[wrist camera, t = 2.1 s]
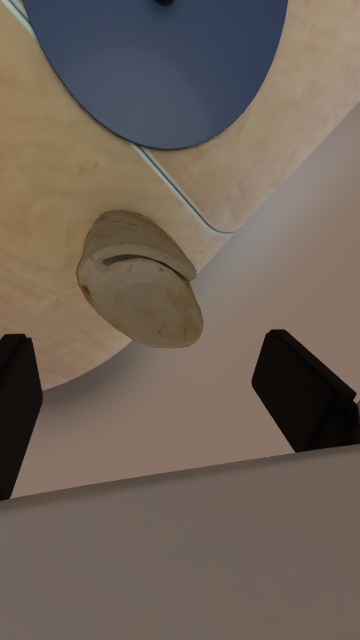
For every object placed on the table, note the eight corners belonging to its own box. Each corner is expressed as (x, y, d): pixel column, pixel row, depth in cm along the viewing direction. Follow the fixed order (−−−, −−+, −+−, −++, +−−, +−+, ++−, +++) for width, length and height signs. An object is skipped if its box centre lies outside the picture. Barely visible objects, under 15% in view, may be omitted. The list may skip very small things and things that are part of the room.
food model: (85, 234, 30) (37, 308, 13) (118, 187, 28) (114, 199, 11) (149, 282, 34) (178, 383, 17) (181, 243, 33) (247, 313, 16)
